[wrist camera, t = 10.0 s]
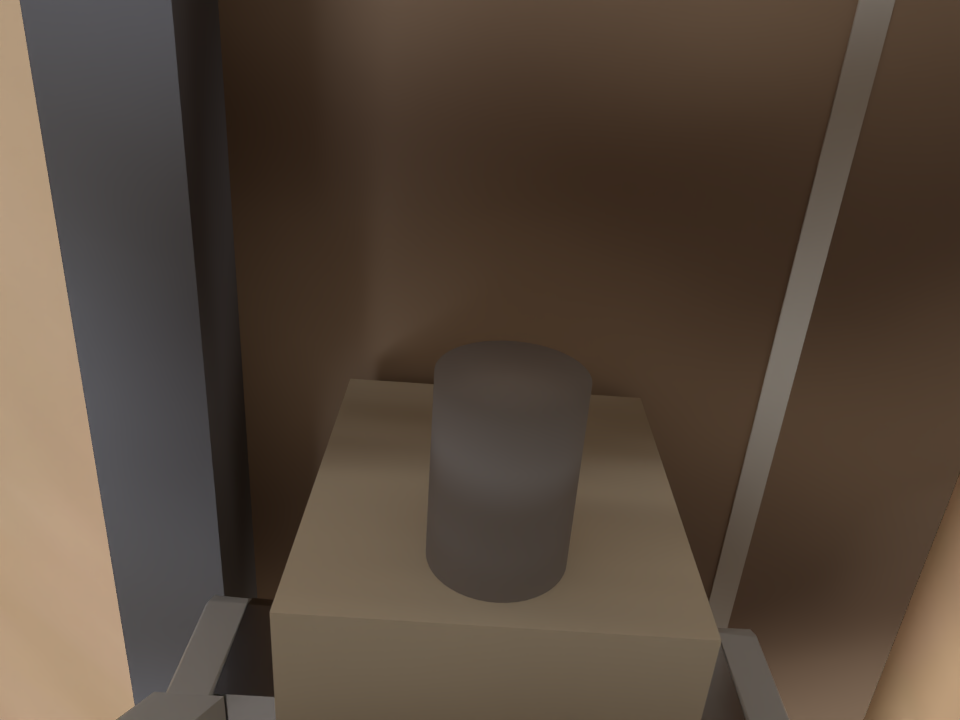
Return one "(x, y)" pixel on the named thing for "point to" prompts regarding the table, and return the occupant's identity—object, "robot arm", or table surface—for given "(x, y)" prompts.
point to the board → (520, 273)
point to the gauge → (491, 556)
